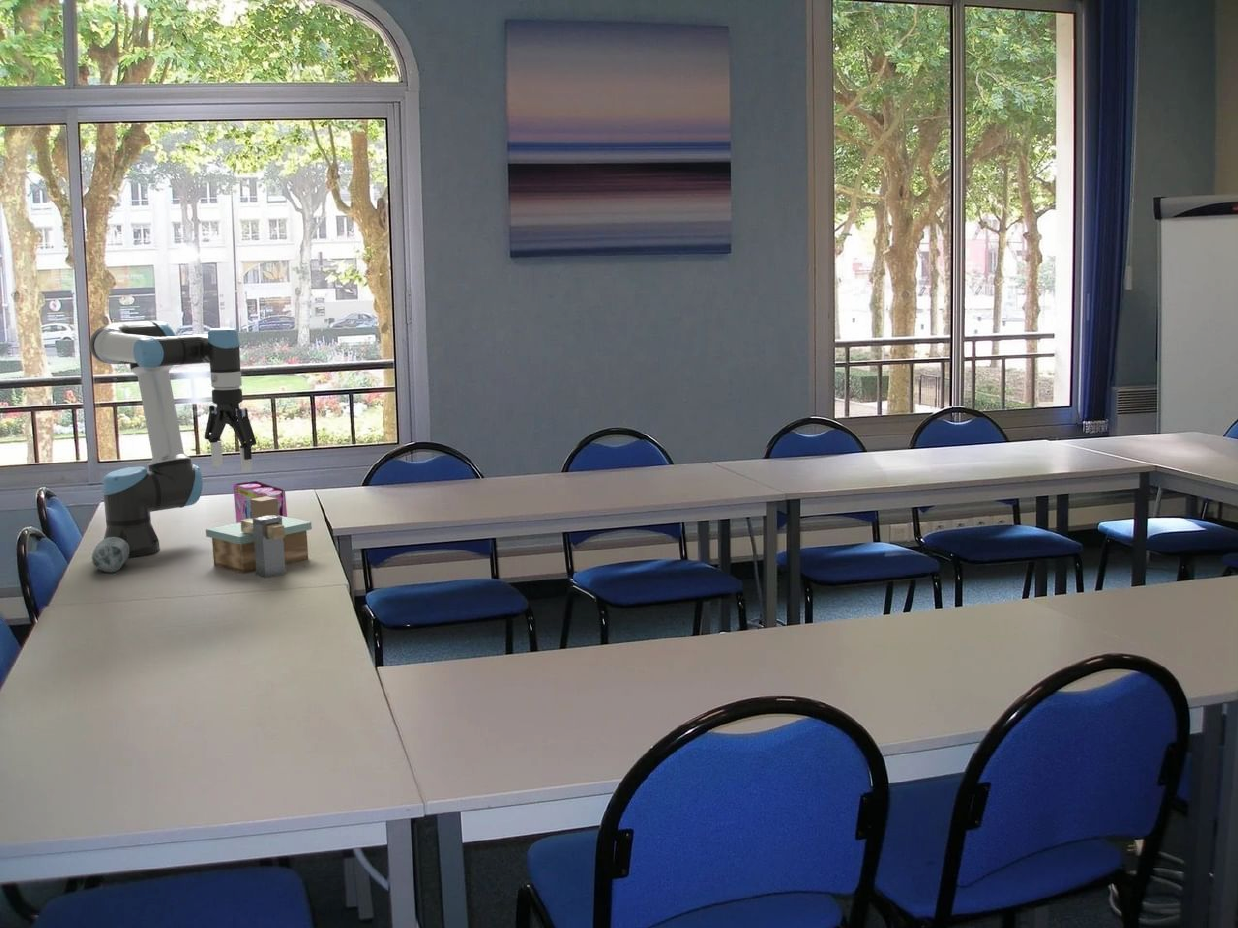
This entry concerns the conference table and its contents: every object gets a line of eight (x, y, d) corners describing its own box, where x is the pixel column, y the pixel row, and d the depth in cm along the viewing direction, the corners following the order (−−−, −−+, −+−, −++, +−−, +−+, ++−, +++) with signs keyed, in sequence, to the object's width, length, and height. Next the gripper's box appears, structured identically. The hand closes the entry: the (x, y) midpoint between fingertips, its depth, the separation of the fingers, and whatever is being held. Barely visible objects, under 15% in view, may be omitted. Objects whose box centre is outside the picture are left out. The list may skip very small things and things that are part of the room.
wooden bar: (241, 531, 322) (240, 520, 321) (251, 529, 324) (250, 518, 324) (274, 539, 312) (274, 527, 312) (284, 536, 315) (284, 525, 314)
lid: (206, 536, 328) (203, 503, 326) (277, 522, 344) (274, 490, 343) (240, 544, 318) (237, 510, 316) (311, 529, 334) (309, 496, 333)
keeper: (256, 575, 317) (252, 518, 315) (276, 571, 322) (272, 514, 319) (265, 578, 315) (261, 520, 312) (285, 573, 319) (281, 516, 317)
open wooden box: (214, 565, 329) (211, 536, 328) (278, 551, 344) (276, 523, 343) (243, 573, 320) (241, 543, 319) (308, 558, 335) (306, 529, 334)
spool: (129, 561, 322) (110, 528, 322) (95, 580, 320) (76, 547, 321) (144, 562, 335) (126, 530, 335) (112, 579, 334) (94, 547, 334)
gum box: (291, 536, 364) (288, 490, 362) (265, 540, 359) (262, 494, 357) (260, 523, 383) (257, 480, 380) (235, 527, 378) (232, 483, 376)
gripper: (187, 386, 325) (193, 466, 329) (241, 392, 310) (247, 476, 314) (212, 383, 331) (217, 462, 335) (267, 389, 316) (272, 472, 319)
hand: (232, 469), depth 324 cm, fingers open, 12 cm apart
